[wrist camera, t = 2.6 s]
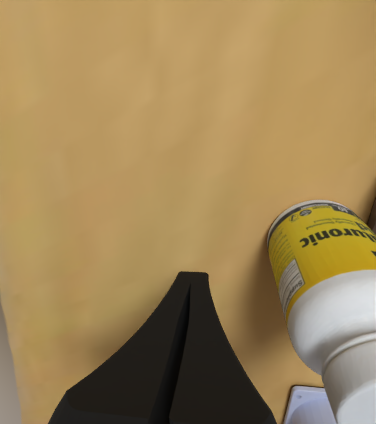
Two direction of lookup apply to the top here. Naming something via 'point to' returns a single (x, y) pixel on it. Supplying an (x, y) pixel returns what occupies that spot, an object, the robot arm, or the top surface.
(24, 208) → the top surface
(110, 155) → the top surface
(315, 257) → the supplement bottle
